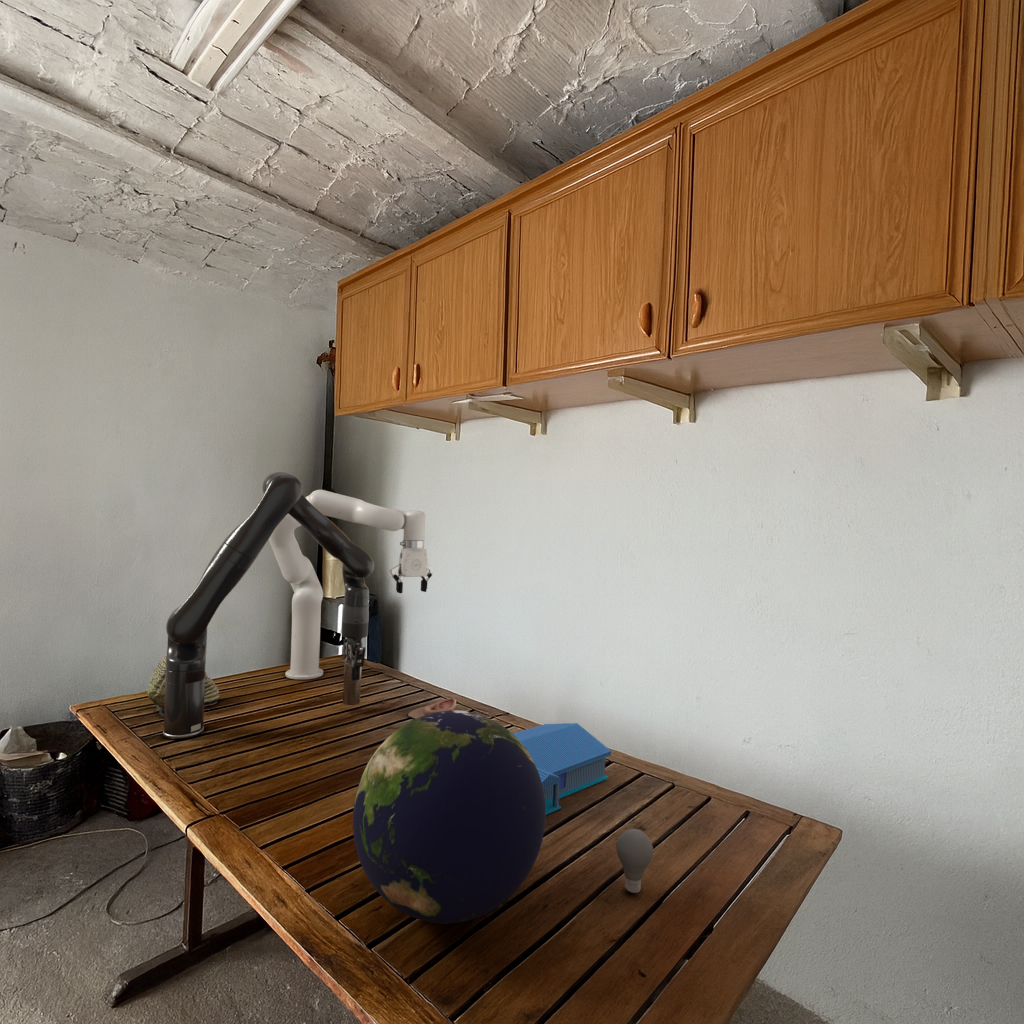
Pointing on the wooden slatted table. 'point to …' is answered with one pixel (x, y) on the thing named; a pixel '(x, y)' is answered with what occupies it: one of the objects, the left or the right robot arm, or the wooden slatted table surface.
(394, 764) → the globe
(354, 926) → the wooden slatted table surface
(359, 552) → the left robot arm
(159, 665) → the fossil
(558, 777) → the model building
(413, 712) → the anatomical model
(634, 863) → the light bulb
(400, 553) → the right robot arm
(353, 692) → the can
